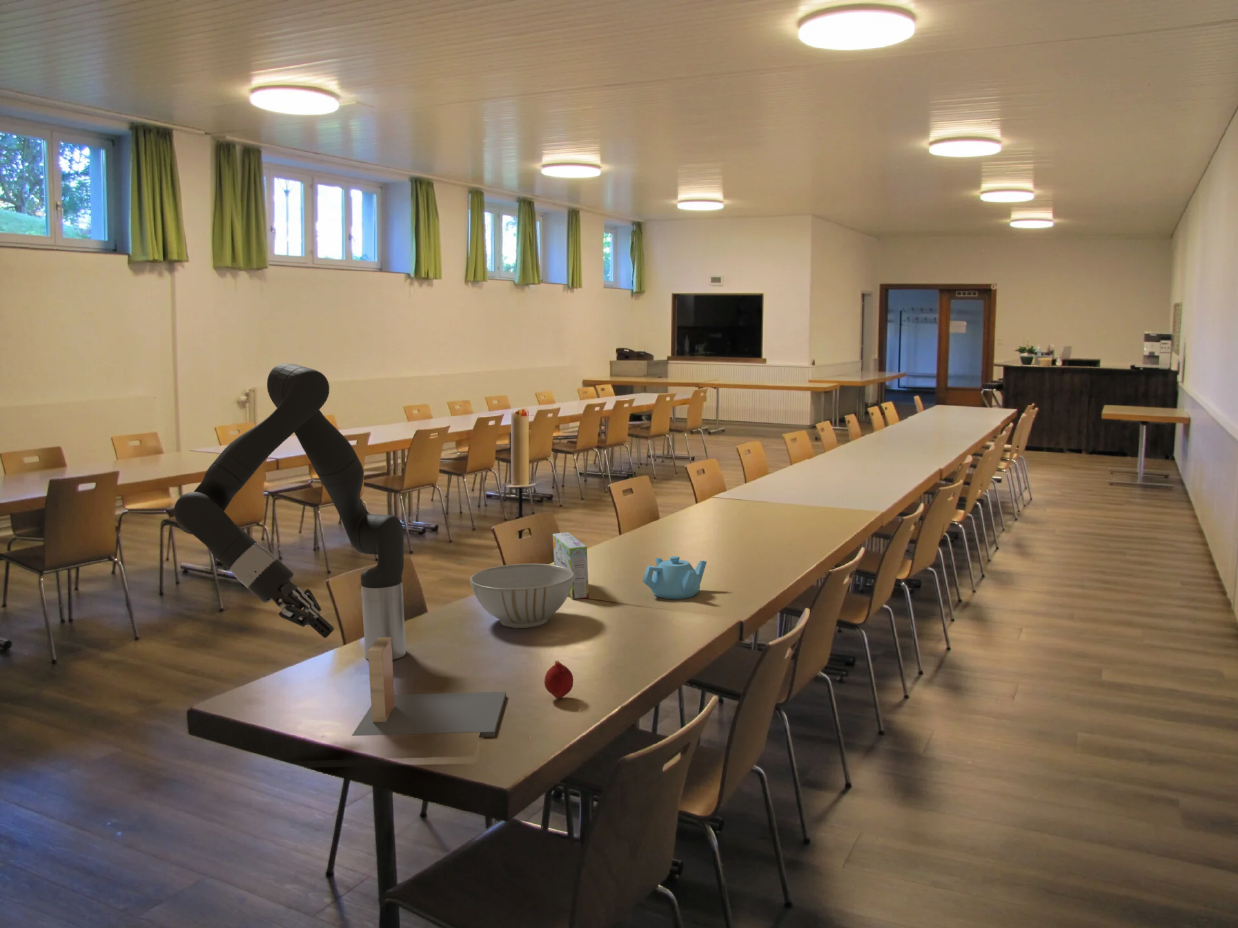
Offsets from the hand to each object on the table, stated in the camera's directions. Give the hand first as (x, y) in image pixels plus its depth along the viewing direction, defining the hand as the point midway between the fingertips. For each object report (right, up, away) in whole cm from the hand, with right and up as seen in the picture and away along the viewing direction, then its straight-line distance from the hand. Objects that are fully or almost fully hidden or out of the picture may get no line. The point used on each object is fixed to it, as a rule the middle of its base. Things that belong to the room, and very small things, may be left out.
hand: (330, 633), depth 182 cm
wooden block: (+10, -16, +2) cm, 19 cm away
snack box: (+41, -4, +95) cm, 104 cm away
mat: (+19, -17, +2) cm, 26 cm away
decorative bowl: (+31, -8, +65) cm, 72 cm away
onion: (+43, -15, +11) cm, 47 cm away
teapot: (+71, -5, +88) cm, 113 cm away
